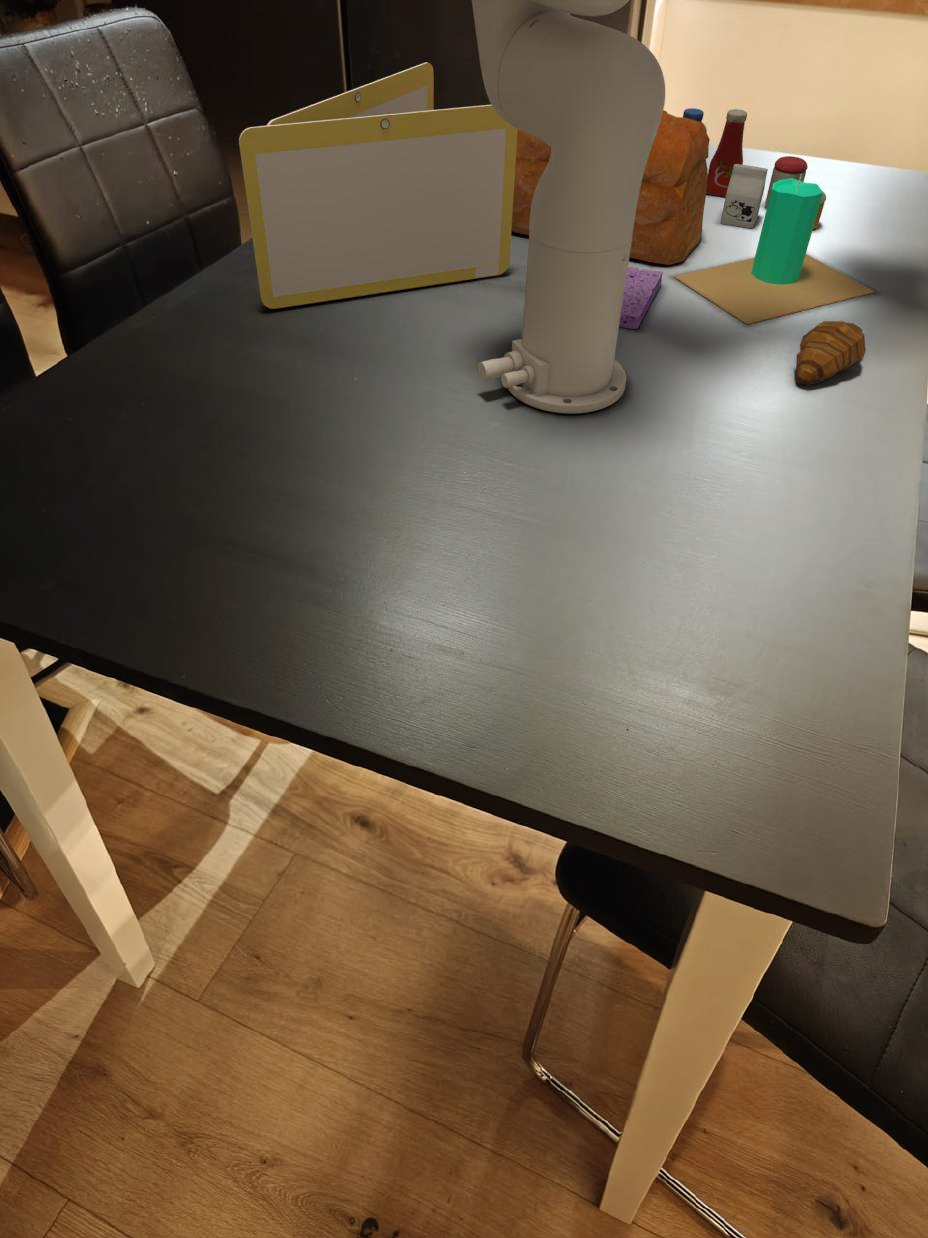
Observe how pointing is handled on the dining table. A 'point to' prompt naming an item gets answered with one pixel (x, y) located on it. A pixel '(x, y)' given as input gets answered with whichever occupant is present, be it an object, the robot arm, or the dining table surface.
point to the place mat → (771, 290)
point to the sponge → (638, 295)
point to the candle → (786, 231)
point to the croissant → (828, 351)
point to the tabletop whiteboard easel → (378, 193)
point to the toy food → (744, 173)
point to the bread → (641, 189)
